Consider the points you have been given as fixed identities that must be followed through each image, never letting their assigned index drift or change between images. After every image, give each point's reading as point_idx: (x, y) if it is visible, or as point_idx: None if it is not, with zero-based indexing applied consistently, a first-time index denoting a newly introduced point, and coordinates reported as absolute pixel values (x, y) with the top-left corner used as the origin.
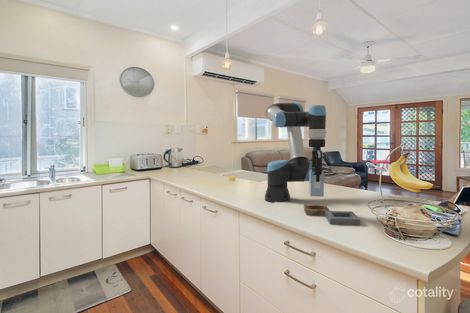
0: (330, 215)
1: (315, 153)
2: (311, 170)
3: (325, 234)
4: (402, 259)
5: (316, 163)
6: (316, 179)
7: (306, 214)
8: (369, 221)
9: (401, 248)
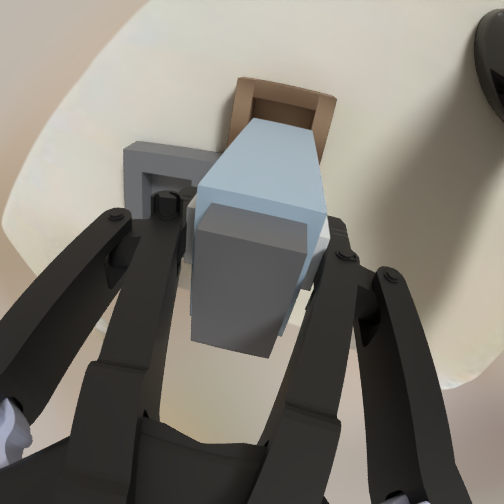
0: (156, 162)
1: (33, 481)
2: (231, 213)
3: (75, 105)
4: (16, 218)
5: (24, 292)
6: (183, 196)
7: (242, 77)
8: (185, 277)
9: (47, 243)
